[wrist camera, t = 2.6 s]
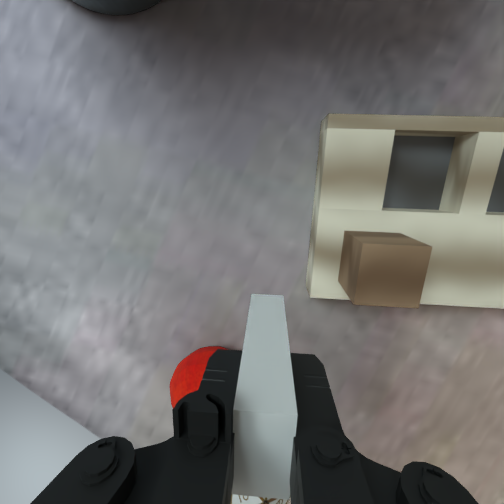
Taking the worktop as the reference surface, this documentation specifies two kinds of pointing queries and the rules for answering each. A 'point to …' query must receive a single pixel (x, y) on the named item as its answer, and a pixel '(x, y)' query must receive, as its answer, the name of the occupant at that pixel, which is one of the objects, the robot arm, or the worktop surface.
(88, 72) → the worktop surface
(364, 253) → the block
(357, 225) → the shape sorter board
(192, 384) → the apple
